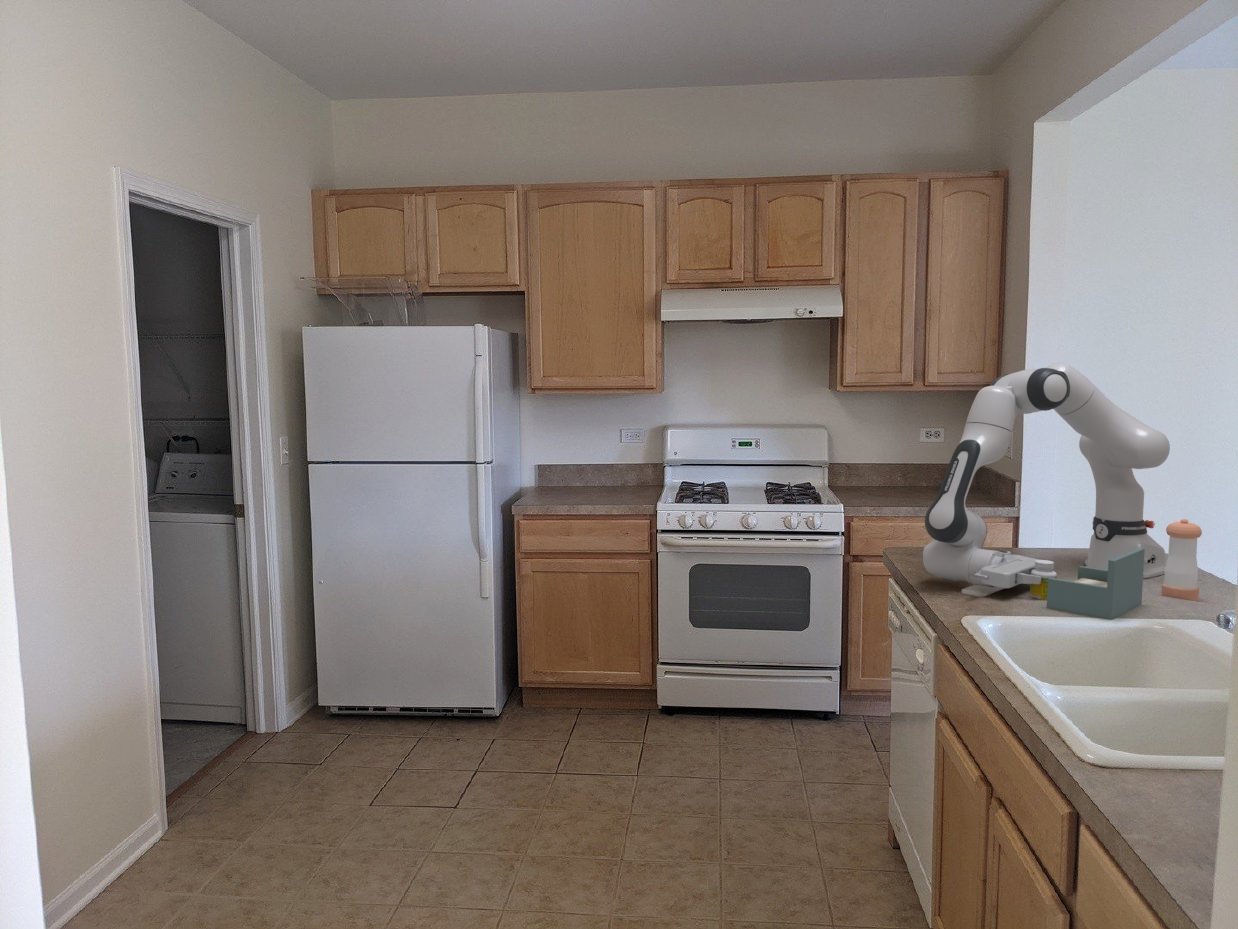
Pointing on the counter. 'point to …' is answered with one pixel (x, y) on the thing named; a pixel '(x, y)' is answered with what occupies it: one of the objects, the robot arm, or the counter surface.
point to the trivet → (980, 590)
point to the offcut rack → (1101, 588)
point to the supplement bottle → (1046, 571)
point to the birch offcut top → (1091, 582)
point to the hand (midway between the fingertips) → (1047, 578)
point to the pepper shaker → (1182, 561)
